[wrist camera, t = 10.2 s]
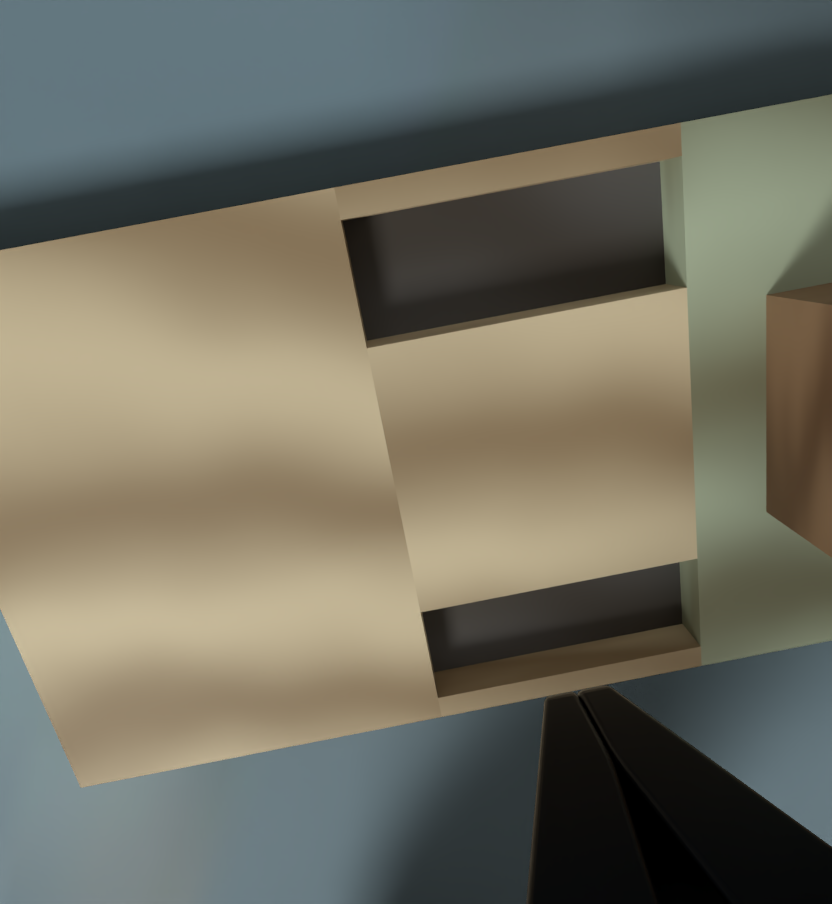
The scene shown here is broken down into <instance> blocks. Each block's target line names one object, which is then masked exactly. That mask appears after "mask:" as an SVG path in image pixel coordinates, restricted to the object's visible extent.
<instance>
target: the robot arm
mask: <svg viewBox="0 0 832 904" xmlns="http://www.w3.org/2000/svg"><path fill="white" fill-rule="evenodd" d="M526 904H832V847H831V846H830V845H829V844H827V843H826V842H824V841H823V840H822V839H820V838H819V837H817V836H816V835H815V834H813V833H812V832H811V831H809V830H808V829H806V828H805V827H804V826H802V825H801V824H799V823H798V822H797V821H795V820H794V819H793V818H791V817H790V816H788V815H787V814H786V813H784V812H783V811H782V810H780V809H779V808H777V807H776V806H775V805H773V804H772V803H770V802H769V801H768V800H766V799H765V798H764V797H762V796H761V795H759V794H758V793H757V792H755V791H754V790H753V789H751V788H750V787H748V786H747V785H746V784H744V783H743V782H741V781H740V780H739V779H737V778H736V777H735V776H733V775H732V774H730V773H729V772H728V771H726V770H725V769H724V768H722V767H721V766H719V765H718V764H717V763H715V762H714V761H712V760H711V759H710V758H708V757H707V756H706V755H704V754H703V753H701V752H700V751H699V750H697V749H696V748H695V747H693V746H692V745H690V744H689V743H688V742H686V741H685V740H683V739H682V738H681V737H679V736H678V735H677V734H675V733H674V732H672V731H671V730H670V729H668V728H667V727H665V726H664V725H663V724H661V723H660V722H659V721H657V720H656V719H654V718H653V717H652V716H650V715H649V714H648V713H646V712H645V711H643V710H642V709H641V708H639V707H638V706H636V705H635V704H634V703H632V702H631V701H630V700H628V699H627V698H625V697H624V696H623V695H621V694H620V693H619V692H617V691H616V690H614V689H613V688H611V687H609V686H599V687H594V688H589V689H584V690H581V691H580V692H579V693H578V695H576V694H575V693H573V692H569V693H564V694H558V695H553V696H549V697H547V698H546V699H545V701H544V710H543V722H542V733H541V744H540V755H539V766H538V778H537V789H536V800H535V811H534V822H533V833H532V844H531V856H530V867H529V878H528V889H527V900H526Z"/></svg>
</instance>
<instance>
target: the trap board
mask: <svg viewBox="0 0 832 904" xmlns="http://www.w3.org/2000/svg"><path fill="white" fill-rule="evenodd" d="M827 283H832V94H831V95H826V96H820V97H815V98H810V99H804V100H799V101H793V102H788V103H783V104H777V105H772V106H767V107H761V108H756V109H751V110H745V111H740V112H735V113H729V114H724V115H719V116H713V117H708V118H703V119H697V120H692V121H687V122H681V123H676V124H671V125H665V126H660V127H655V128H649V129H644V130H639V131H633V132H628V133H623V134H617V135H612V136H607V137H601V138H596V139H591V140H585V141H580V142H575V143H569V144H564V145H559V146H553V147H548V148H543V149H537V150H532V151H527V152H521V153H516V154H511V155H505V156H500V157H495V158H489V159H484V160H479V161H473V162H468V163H463V164H457V165H452V166H447V167H441V168H436V169H431V170H425V171H420V172H415V173H409V174H404V175H399V176H393V177H388V178H383V179H377V180H372V181H367V182H361V183H356V184H351V185H345V186H340V187H335V188H329V189H324V190H319V191H313V192H308V193H303V194H297V195H292V196H287V197H281V198H276V199H271V200H265V201H260V202H255V203H249V204H244V205H239V206H233V207H228V208H223V209H217V210H212V211H207V212H201V213H196V214H191V215H185V216H180V217H175V218H169V219H164V220H159V221H153V222H148V223H143V224H137V225H132V226H127V227H121V228H116V229H111V230H105V231H100V232H95V233H89V234H84V235H79V236H73V237H68V238H63V239H57V240H52V241H47V242H41V243H36V244H30V245H25V246H20V247H14V248H9V249H4V250H0V609H1V611H2V614H3V616H4V618H5V620H6V623H7V625H8V627H9V629H10V631H11V634H12V636H13V638H14V640H15V643H16V645H17V647H18V649H19V651H20V654H21V656H22V658H23V660H24V662H25V665H26V667H27V669H28V671H29V674H30V676H31V678H32V680H33V682H34V685H35V687H36V689H37V691H38V694H39V696H40V698H41V700H42V702H43V705H44V707H45V709H46V711H47V714H48V716H49V718H50V720H51V722H52V725H53V727H54V729H55V731H56V733H57V736H58V738H59V740H60V742H61V745H62V747H63V749H64V751H65V753H66V756H67V758H68V760H69V762H70V765H71V767H72V769H73V771H74V773H75V776H76V778H77V780H78V782H79V785H80V787H81V788H82V787H87V786H92V785H97V784H102V783H107V782H112V781H117V780H122V779H127V778H133V777H138V776H143V775H148V774H153V773H158V772H163V771H168V770H173V769H178V768H184V767H189V766H194V765H199V764H204V763H209V762H214V761H219V760H224V759H229V758H235V757H240V756H245V755H250V754H255V753H260V752H265V751H270V750H275V749H280V748H285V747H291V746H296V745H301V744H306V743H311V742H316V741H321V740H326V739H331V738H336V737H342V736H347V735H352V734H357V733H362V732H367V731H372V730H377V729H382V728H387V727H393V726H398V725H403V724H408V723H413V722H418V721H423V720H428V719H433V718H438V717H443V716H449V715H454V714H459V713H464V712H469V711H474V710H479V709H484V708H489V707H494V706H500V705H505V704H510V703H515V702H520V701H525V700H530V699H535V698H540V697H545V696H551V695H556V694H561V693H566V692H571V691H576V690H581V689H586V688H591V687H596V686H601V685H607V684H612V683H617V682H622V681H627V680H632V679H637V678H642V677H647V676H652V675H658V674H663V673H668V672H673V671H678V670H683V669H688V668H693V667H698V666H703V665H709V664H714V663H719V662H724V661H729V660H734V659H739V658H744V657H749V656H754V655H759V654H765V653H770V652H775V651H780V650H785V649H790V648H795V647H800V646H805V645H810V644H816V643H821V642H826V641H831V640H832V557H830V556H829V555H827V554H826V553H824V552H823V551H822V550H820V549H819V548H817V547H816V546H814V545H813V544H811V543H810V542H809V541H807V540H806V539H804V538H803V537H801V536H800V535H799V534H797V533H796V532H794V531H793V530H791V529H790V528H789V527H787V526H786V525H784V524H783V523H781V522H780V521H778V520H777V519H776V518H774V517H773V516H771V515H770V514H768V513H767V512H766V295H769V294H775V293H780V292H785V291H790V290H795V289H801V288H806V287H811V286H816V285H822V284H827Z"/></svg>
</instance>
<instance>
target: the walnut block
mask: <svg viewBox="0 0 832 904" xmlns="http://www.w3.org/2000/svg"><path fill="white" fill-rule="evenodd" d="M766 512H767V513H768V514H770V515H771V516H773V517H774V518H776V519H777V520H778V521H780V522H781V523H783V524H784V525H786V526H787V527H789V528H790V529H791V530H793V531H794V532H796V533H797V534H799V535H800V536H801V537H803V538H804V539H806V540H807V541H809V542H810V543H811V544H813V545H814V546H816V547H817V548H819V549H820V550H822V551H823V552H824V553H826V554H827V555H829V556H830V557H832V283H827V284H822V285H816V286H811V287H806V288H801V289H795V290H790V291H785V292H780V293H775V294H769V295H766Z"/></svg>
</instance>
